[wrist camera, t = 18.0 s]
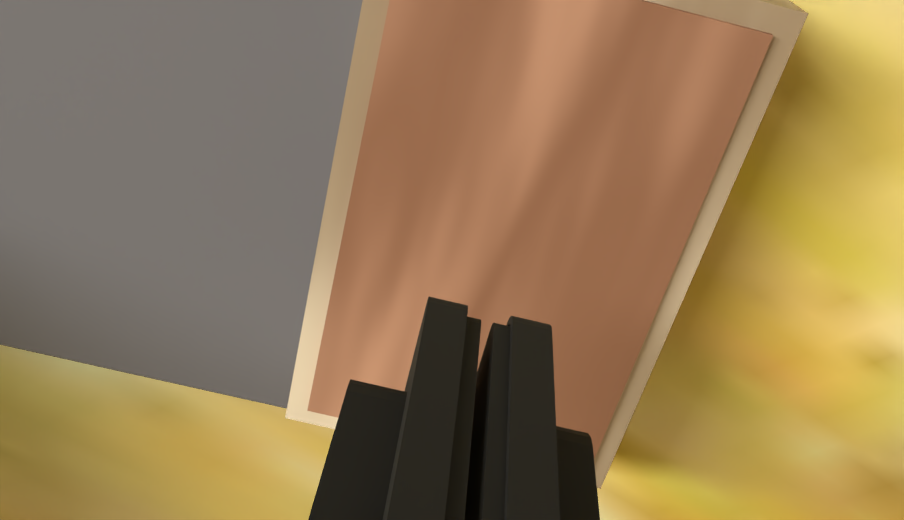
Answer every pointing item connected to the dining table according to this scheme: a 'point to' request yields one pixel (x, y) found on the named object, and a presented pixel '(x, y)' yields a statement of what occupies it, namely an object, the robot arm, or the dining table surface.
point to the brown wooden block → (532, 184)
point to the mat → (168, 182)
